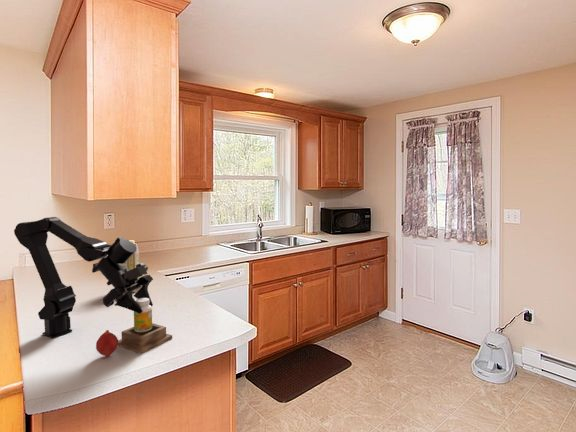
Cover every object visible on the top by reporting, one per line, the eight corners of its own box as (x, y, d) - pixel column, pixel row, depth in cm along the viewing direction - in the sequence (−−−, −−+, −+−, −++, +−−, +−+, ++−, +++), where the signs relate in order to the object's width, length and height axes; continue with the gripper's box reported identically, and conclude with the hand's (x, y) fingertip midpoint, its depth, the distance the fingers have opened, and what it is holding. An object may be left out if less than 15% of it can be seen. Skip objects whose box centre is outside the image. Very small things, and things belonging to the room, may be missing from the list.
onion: (91, 359, 101) (90, 332, 101) (108, 350, 107) (107, 324, 106) (107, 362, 99) (105, 335, 99) (123, 353, 105) (122, 327, 104)
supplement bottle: (130, 332, 110) (130, 302, 109) (139, 325, 116) (138, 296, 115) (147, 333, 110) (146, 302, 109) (155, 326, 115) (154, 297, 114)
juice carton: (141, 291, 166) (139, 241, 164) (122, 294, 162) (120, 242, 160) (136, 286, 174) (135, 238, 172) (119, 289, 169) (117, 240, 167)
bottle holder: (141, 353, 105) (140, 340, 105) (115, 344, 111) (115, 332, 110) (172, 338, 115) (171, 326, 115) (147, 330, 121) (146, 319, 121)
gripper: (110, 262, 102) (145, 302, 101) (147, 251, 121) (177, 284, 119) (87, 287, 104) (121, 326, 103) (127, 272, 123) (156, 305, 122)
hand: (146, 309), depth 112 cm, fingers closed on supplement bottle, 5 cm apart
